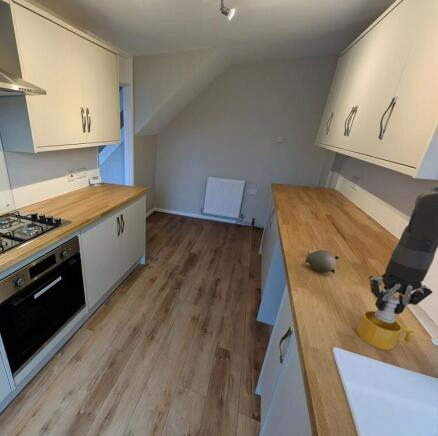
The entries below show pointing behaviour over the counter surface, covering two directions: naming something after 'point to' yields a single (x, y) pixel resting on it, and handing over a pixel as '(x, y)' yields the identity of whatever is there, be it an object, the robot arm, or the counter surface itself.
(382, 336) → the mug
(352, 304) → the counter surface
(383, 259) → the counter surface
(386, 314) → the rook chess piece
